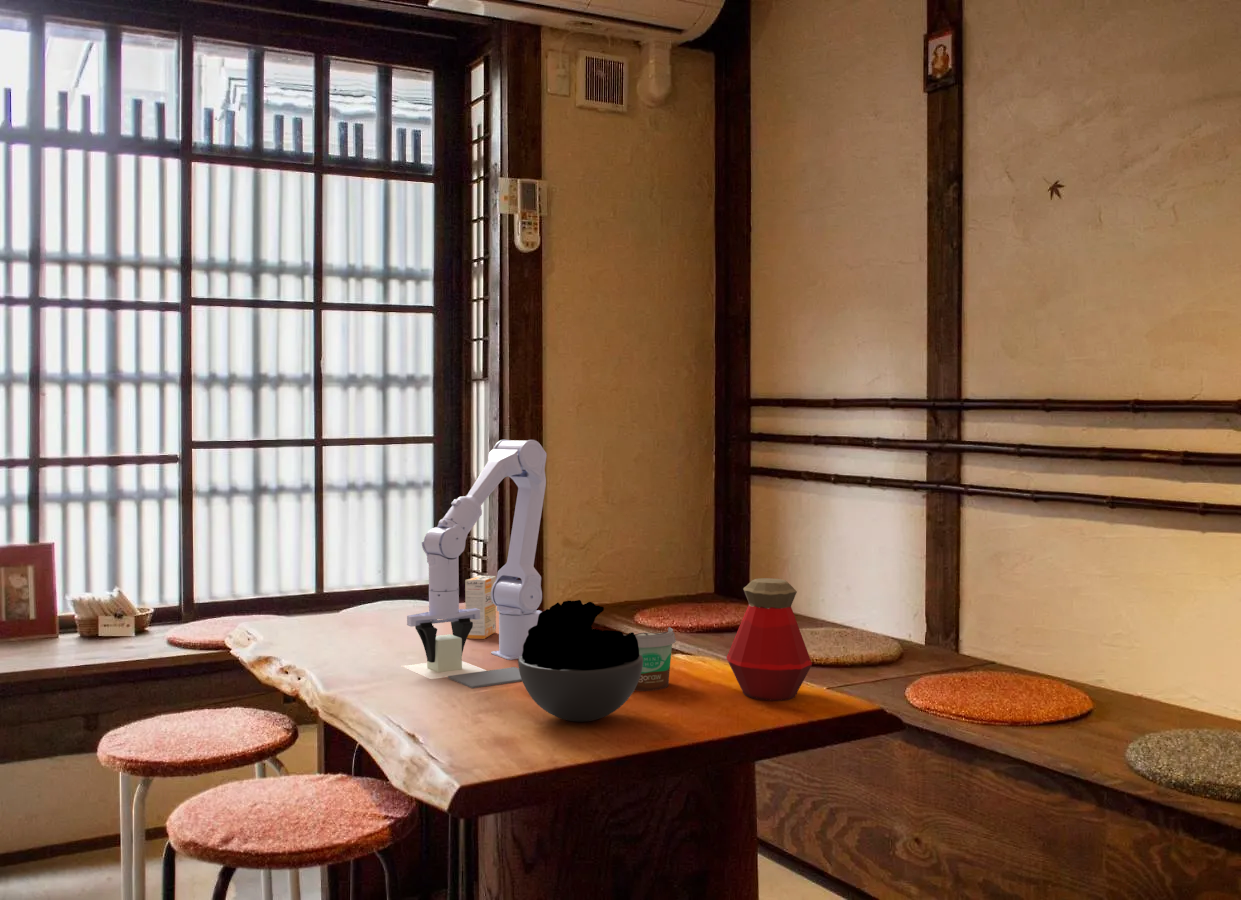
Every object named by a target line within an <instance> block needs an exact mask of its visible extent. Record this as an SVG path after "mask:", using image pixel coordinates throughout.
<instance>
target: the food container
mask: <svg viewBox="0 0 1241 900" xmlns="http://www.w3.org/2000/svg"><path fill="white" fill-rule="evenodd" d="M623 635H625V634H624V633H623ZM634 635H635V636H636V638H637V640H638V647H639V654H640V655H641V656H642V657H643V667H642V672H641V676H640V678H639V681H638V684H637V686H636V688H635V690H636V691H637V692H639V691H640V692H650V691H651V692H652V691H659V690H663V689H666V688H668V687H669V682H670V671H671V670H670V669H671V660H672V647H673V644H675V643H676V641H677V640H676V635H675V632H674V629H673V628H671V627H670V626H669V627H668V629H667V631H663V632H655V633H654V632H640V633H639V632H638V633H636V634H635V633H634ZM635 690H634V691H635Z"/></svg>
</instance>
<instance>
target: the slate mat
mask: <svg viewBox="0 0 1241 900" xmlns="http://www.w3.org/2000/svg"><path fill="white" fill-rule="evenodd" d="M447 679H449V680H451V681H454V682H457V683H458V684H461V685H462V686H465V687H468V688H470V689H478V688H483V687H491V686H497V685H498V686H499V685H507V684H513V683H519V682H522V679H521V676H520V672H519V667H516V666H512V667H504V668H497V669H489V670H487V671H481V672H474V673H467V674H459V675H452V676H448V677H447Z"/></svg>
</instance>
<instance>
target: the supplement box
mask: <svg viewBox="0 0 1241 900" xmlns="http://www.w3.org/2000/svg"><path fill="white" fill-rule="evenodd" d="M496 578H497V575H476V576H473V577H471V578H468V579H465V581H464V584H465V587H464V588H465V589H464V590H465V591H464V592H465V593H464V594H465V597H464V598H465V609H474V608H476V609H480V619H478V620H474V619H471V620H470V621H471V622H473V627H472V629H471V631H470V633H469V635H468V637H467V639H471V640H472V639H475V640H477V639H478V640H480V639H481V640H485V639H486V638H488V637H490V636H491V635H493V634H496V632H497V606H496V605H495V604H494V603H493V601H492V599H491V589H492V586H493V584H494V583H495V581H496Z"/></svg>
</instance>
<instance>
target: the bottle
mask: <svg viewBox="0 0 1241 900" xmlns="http://www.w3.org/2000/svg"><path fill="white" fill-rule="evenodd" d="M742 590H743V592H744V595H745V597H746V599H747V602H748V606H747V607H746V611H745V612H744V615H743V618H742V619H741V622H740V624H739V627H738V629H737V631H736V634H735V636H734V639H733V641H732V643H731V646H730V648H729V650H728V653H727V655H726V660H727V663H728V664H729V666H730V668H731V670H732V673H733V674H734V677H735V679H736V680H737V683H738V684H739V687H740V689H741V691H742V694H744V696H745V697H748V698H750V699H753V700H754V699H755V700H760V701H768V702H769V701H770V702H780V701H789V700H792V699H793V698H795V697H796V696H797V693H798V692H799V690H800V688H801V686H802V684H803V683H804V681H805V679H806V677H807V675H808V673H809V671H810V669H811V668H812V665H813V662H812V660H811V657H810V654H809V652H808V649H807V647H806V644H805V643H806V642H805V641H804V638H803V636H802V632H801V630H800V628H799V624H798V621H797V619H796V616H795V614H794V611H793V607H792V605H793V602H794V600H795V597H796V596H797V592H798V590H796V589H795V588H794V587H793V586H792V585H791V584H790V583H789V582H788V581H787V580H786V579H782V578H772V577H771V578H767V577H764V578H755V579H752V580H751V581H750V582H749V583H747V585H746V586H743V588H742Z"/></svg>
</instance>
